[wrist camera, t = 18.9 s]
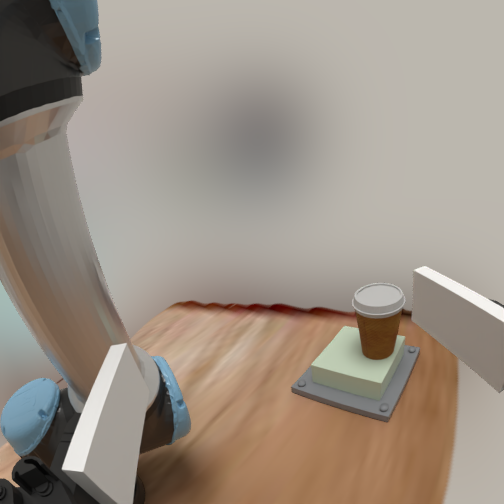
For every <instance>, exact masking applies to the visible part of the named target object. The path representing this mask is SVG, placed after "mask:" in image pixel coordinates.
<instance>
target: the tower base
mask: <svg viewBox="0 0 504 504" xmlns="http://www.w3.org/2000/svg"><path fill="white" fill-rule="evenodd" d="M419 352H420V348H419V347H414V346H407V345H405V336H399V335H397V338H396V343H395V347H394V352H393V353H392V355H391V356H389V357H388V358H385V359H382V360H373V359H369V358H367V357H365V356H364V355H363V353H362V347H361V341H360V334H359V329H358V328H353V327H348V326H344V327H343V328H342V329H341V331H340V332H339V333H338V334H337V335H336V337H335V338H334V339H333V340H332V341H331V342H330V344H329V345H328V346H327V347H326V348H325V349H324V351H323V352H322V353H321V354H320V355H319V356H318V357H317V359H316V360H315V361H314V362H313V363H312V364H311V366H310V367H309V368H308V369H307V371H306V372H305V373H304V374H303V375H302V376H301V377H300V378H299V379H298V380H297V381H296V382H295V383H294V385H293V386H292V387H291V388H292V392H293V393H296V394H299V395H301V396H304V397H307V398H310V399H313V400H316V401H318V402H321V403H324V404H327V405H330V406H334V407H337V408H340V409H343V410H346V411H350V412H353V413H356V414H360V415H363V416H367V417H370V418H374V419H378V420H381V421H385V422H388V421H389V419H390V417H391V415H392V413H393V411H394V409H395V407H396V405H397V403H398V401H399V399H400V397H401V395H402V393H403V390H404V388H405V386H406V384H407V382H408V379H409V377H410V375H411V372H412V370H413V368H414V365H415V363H416V360H417V358H418V355H419Z"/></svg>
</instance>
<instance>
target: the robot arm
mask: <svg viewBox="0 0 504 504" xmlns="http://www.w3.org/2000/svg"><path fill="white" fill-rule="evenodd" d="M100 63H101V42H100V34H99V29H98V5H97V0H0V280H1V282H2V284H3V286H4V288H5V290H6V292H7V293H8V295H9V297H10V299H11V301H12V303H13V304H14V306H15V308H16V310H17V311H18V313H19V315H20V316H21V318H22V320H23V321H24V323H25V325H26V326H27V327H28V329H29V331H30V332H31V334H32V336H33V337H34V338H35V340H36V341H37V343H38V344H39V346H40V347H41V349H42V350H43V352H44V353H45V354H46V356H47V357H48V359H49V360H50V361H51V363H52V364H53V365H54V367H55V368H56V369H57V371H58V372H59V373H60V374H61V376H62V377H63V378H64V380H65V381H66V382H67V383H68V388H65V389H61V390H60V389H59V386H58V385H57V384H56V383H54V382H53V381H52V380H51V379H46V378H39V379H36V380H33V381H31V382H29V383H27V384H26V385H24V386H23V387H21V388H20V389H19V390H18V391H17V392H16V393H14V395H13V396H12V397H11V398H10V399H9V400H8V402H7V403H6V405H5V407H4V409H3V412H2V415H1V420H0V424H1V430H2V433H3V435H4V437H5V438H6V439H7V441H8V442H9V443H10V445H11V446H12V447H13V448H14V451H15V452H16V453H17V454H18V455H19V456H20V457H21V458H22V459H21V460H19V461H18V462H17V463H16V465H15V466H14V468H13V471H12V480H13V481H14V482H16V483H17V484H18V485H19V486H20V487H17V488H16V487H15V486H13V485H12V484H11V483H10V482H9V481H8V480H6V479H0V504H144V499H145V490H144V486H143V483H142V481H141V479H140V478H139V477H138V475H137V474H136V472H137V465H138V458H139V454H142V453H145V452H148V451H150V450H153V449H156V448H159V447H161V446H164V445H170V444H173V443H174V442H175V441H176V440H178V439H180V438H182V437H184V436H186V435H187V434H188V433H189V432H190V429H191V420H190V416H189V412H188V409H187V406H186V404H185V402H184V401H183V396H182V393H181V390H180V388H179V386H178V383H177V381H176V379H175V377H174V375H173V373H172V371H171V369H170V367H169V365H168V363H167V362H166V360H165V359H164V358H163V357H160V356H155V357H153V356H150V355H149V354H148V353H147V352H146V351H145V350H143V349H142V348H140V347H138V346H135V345H132V343H131V340H130V338H129V336H128V334H127V332H126V330H125V327H124V325H123V322H122V320H121V318H120V316H119V313H118V311H117V308H116V306H115V303H114V301H113V298H112V296H111V293H110V291H109V288H108V285H107V283H106V280H105V277H104V275H103V272H102V269H101V266H100V263H99V261H98V257H97V254H96V251H95V248H94V245H93V242H92V239H91V236H90V232H89V229H88V226H87V222H86V219H85V215H84V212H83V208H82V205H81V201H80V197H79V193H78V188H77V184H76V180H75V176H74V171H73V166H72V162H71V157H70V151H69V147H68V140H67V134H66V130H67V124H68V122H69V120H70V119H71V117H72V116H73V114H74V112H75V111H76V109H77V108H78V106H79V105H80V103H81V102H82V101H83V94H82V83H81V76H85V75H90V74H91V73H92V72H94V71H96V70H97V69H98V68H99V67H100ZM413 272H414V273H413V304H412V321H413V322H415V323H416V324H417V325H418V326H420V327H421V328H422V329H423V330H425V331H426V332H427V333H428V334H430V335H431V336H432V337H433V338H435V339H436V340H437V341H438V342H440V343H441V344H442V345H443V346H444V347H446V348H447V349H448V350H449V351H451V352H452V353H453V354H454V355H455V356H457V357H458V358H459V359H460V360H461V361H463V362H464V363H465V364H466V365H467V366H468V367H470V368H471V369H472V370H473V371H475V372H476V373H477V374H478V375H479V376H480V377H481V378H483V379H484V380H485V381H486V382H487V383H488V384H489V385H491V386H492V387H493V388H494V389H495V390H496V391H498V392H499V393H500V392H501V391H503V390H504V305H502V304H500V303H499V302H497V301H494V300H490V299H487V298H485V297H483V296H481V295H480V294H478V293H476V292H474V291H472V290H470V289H468V288H467V287H465V286H463V285H461V284H459V283H457V282H455V281H453V280H451V279H450V278H448V277H446V276H444V275H442V274H440V273H438V272H436V271H434V270H432V269H430V268H428V267H426V266H424V267H421V268H418V269H416V270H414V271H413Z"/></svg>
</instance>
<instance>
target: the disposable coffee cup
mask: <svg viewBox="0 0 504 504" xmlns="http://www.w3.org/2000/svg"><path fill="white" fill-rule="evenodd" d="M404 304H405V297H404V295H403V292H402V290H401V289H400V288H399V287H397V286H396V285H392V284H387V283H374V284H369V285H366V286H363V287H361V288H359V289H358V290H357V291H356V293H355V295H354V298H353V300H352V305H353V307H354V310H355V311H356V317H357V323H358V328H359V334H360V341H361V347H362V353H363V355H364V356H365V357H367V358H369V359H373V360H382V359H385V358H388V357H389V356H391V355H392V353H393V352H394V347H395V343H396V338H397V334H398V329H399V323H400V318H401V313H402V308H403V306H404Z"/></svg>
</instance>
